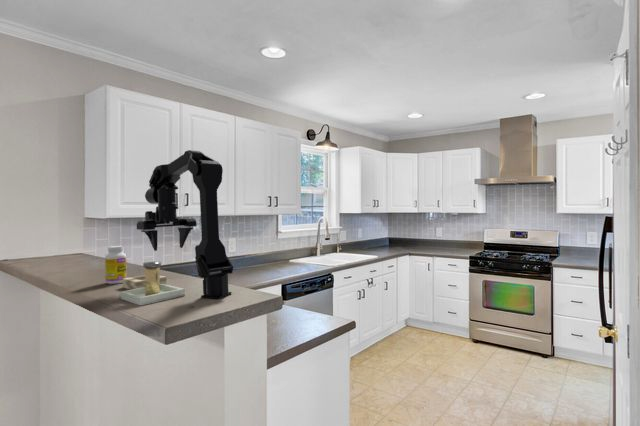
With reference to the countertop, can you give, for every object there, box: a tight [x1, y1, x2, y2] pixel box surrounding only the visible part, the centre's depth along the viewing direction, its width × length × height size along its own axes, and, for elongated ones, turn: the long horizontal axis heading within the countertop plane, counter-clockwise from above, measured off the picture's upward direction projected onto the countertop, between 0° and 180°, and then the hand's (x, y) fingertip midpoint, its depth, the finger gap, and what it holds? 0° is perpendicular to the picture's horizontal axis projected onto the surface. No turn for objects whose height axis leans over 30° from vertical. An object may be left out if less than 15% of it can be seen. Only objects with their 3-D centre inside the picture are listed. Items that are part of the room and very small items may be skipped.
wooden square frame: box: [122, 274, 168, 290], centre depth 126 cm, size 10×10×3 cm
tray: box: [119, 284, 186, 306], centre depth 111 cm, size 13×13×2 cm
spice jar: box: [142, 261, 162, 296], centre depth 110 cm, size 5×5×10 cm
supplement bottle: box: [104, 245, 128, 285], centre depth 134 cm, size 7×7×13 cm
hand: (168, 249), depth 128 cm, fingers open, 9 cm apart
